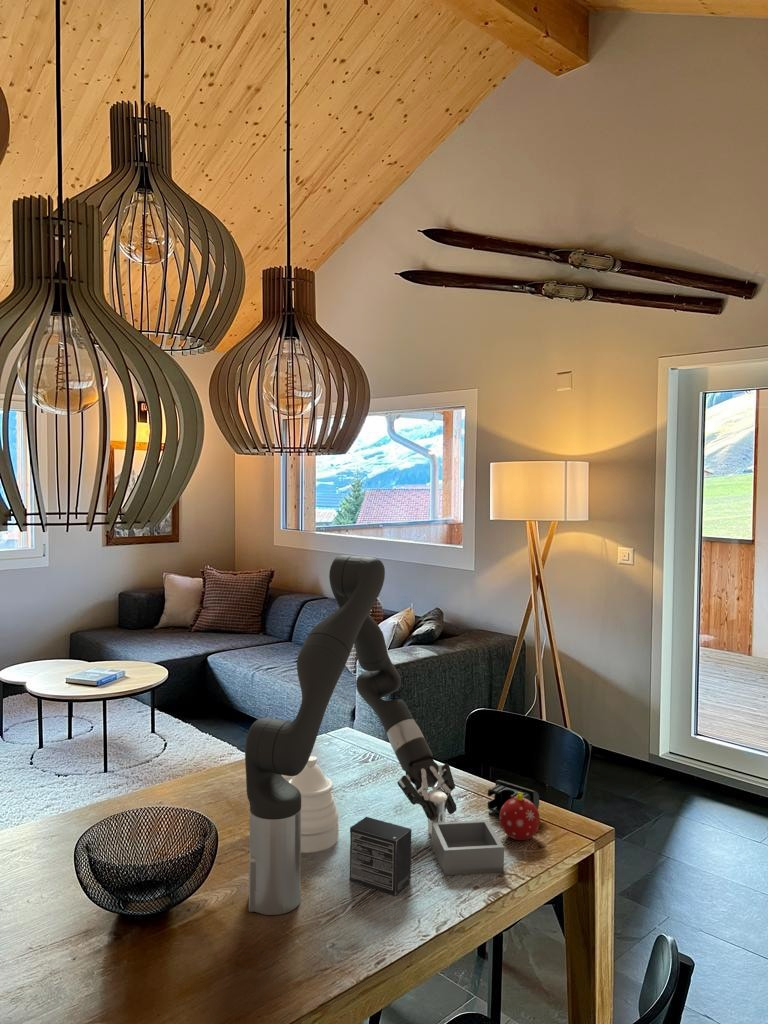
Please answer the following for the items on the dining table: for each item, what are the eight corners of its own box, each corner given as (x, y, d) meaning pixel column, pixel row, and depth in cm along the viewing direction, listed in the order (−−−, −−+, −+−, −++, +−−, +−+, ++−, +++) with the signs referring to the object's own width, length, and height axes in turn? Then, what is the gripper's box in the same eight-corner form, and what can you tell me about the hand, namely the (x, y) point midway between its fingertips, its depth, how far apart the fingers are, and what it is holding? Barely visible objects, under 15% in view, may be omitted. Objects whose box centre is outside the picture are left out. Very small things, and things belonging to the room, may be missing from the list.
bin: (443, 875, 149) (444, 850, 149) (431, 845, 161) (431, 822, 161) (503, 871, 151) (504, 847, 151) (487, 842, 163) (487, 819, 162)
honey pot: (344, 848, 160) (345, 763, 159) (282, 856, 156) (283, 769, 155) (331, 821, 172) (332, 742, 171) (274, 828, 168) (274, 747, 167)
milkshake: (448, 839, 164) (449, 793, 164) (424, 836, 165) (424, 791, 165) (451, 829, 168) (452, 785, 168) (427, 827, 170) (428, 782, 169)
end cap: (539, 816, 176) (540, 787, 176) (523, 827, 170) (524, 797, 170) (501, 804, 182) (502, 776, 182) (485, 814, 177) (486, 785, 177)
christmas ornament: (526, 851, 159) (527, 804, 159) (491, 838, 165) (492, 792, 164) (546, 837, 166) (547, 791, 165) (512, 825, 171) (513, 781, 171)
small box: (412, 881, 147) (413, 827, 147) (396, 897, 141) (396, 841, 141) (366, 866, 152) (366, 814, 152) (348, 880, 147) (348, 827, 146)
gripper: (391, 742, 167) (427, 816, 158) (440, 730, 176) (476, 799, 167) (376, 759, 172) (410, 832, 163) (425, 746, 181) (459, 814, 172)
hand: (443, 815), depth 165 cm, fingers open, 5 cm apart
